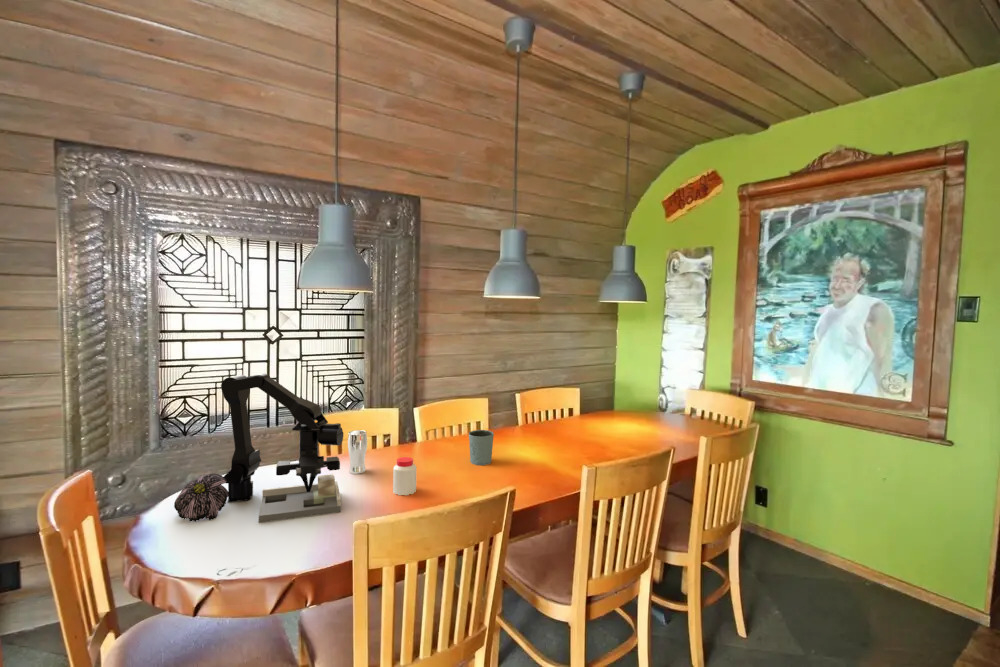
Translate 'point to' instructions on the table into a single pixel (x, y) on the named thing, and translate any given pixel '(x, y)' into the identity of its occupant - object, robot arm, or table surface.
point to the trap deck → (297, 503)
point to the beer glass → (357, 451)
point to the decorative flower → (202, 498)
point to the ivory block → (326, 485)
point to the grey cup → (481, 446)
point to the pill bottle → (404, 476)
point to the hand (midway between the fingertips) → (308, 491)
